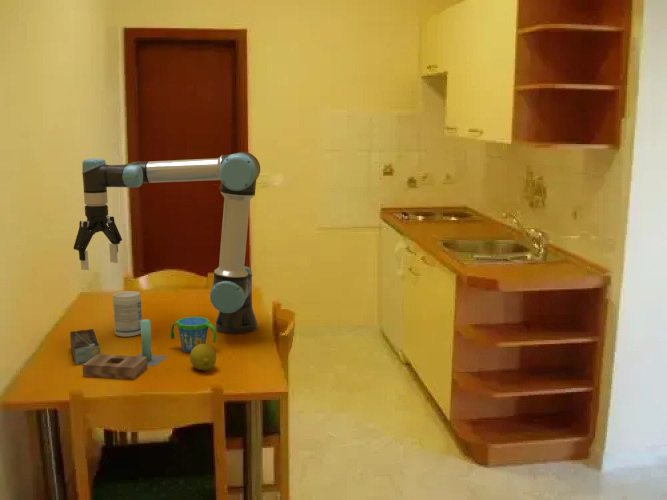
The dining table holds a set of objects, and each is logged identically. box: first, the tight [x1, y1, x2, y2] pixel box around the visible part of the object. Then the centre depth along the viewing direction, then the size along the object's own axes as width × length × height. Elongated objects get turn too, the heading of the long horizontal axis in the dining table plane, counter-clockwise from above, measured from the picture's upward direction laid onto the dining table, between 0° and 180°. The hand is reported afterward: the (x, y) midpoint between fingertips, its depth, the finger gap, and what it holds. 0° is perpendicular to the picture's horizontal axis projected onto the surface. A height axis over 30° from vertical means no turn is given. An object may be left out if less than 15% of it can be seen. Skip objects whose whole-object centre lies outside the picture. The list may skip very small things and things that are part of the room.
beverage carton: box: [69, 328, 101, 365], centre depth 241 cm, size 8×19×7 cm, turn 23°
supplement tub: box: [112, 290, 143, 338], centre depth 264 cm, size 10×10×15 cm
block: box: [82, 353, 148, 381], centre depth 225 cm, size 16×10×4 cm, turn 81°
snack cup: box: [169, 316, 218, 354], centre depth 247 cm, size 16×10×10 cm
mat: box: [136, 353, 168, 367], centre depth 236 cm, size 10×10×1 cm
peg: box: [140, 318, 153, 362], centre depth 235 cm, size 3×3×13 cm
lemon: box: [189, 343, 217, 372], centre depth 229 cm, size 11×8×8 cm
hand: (99, 266), depth 256 cm, fingers open, 13 cm apart
